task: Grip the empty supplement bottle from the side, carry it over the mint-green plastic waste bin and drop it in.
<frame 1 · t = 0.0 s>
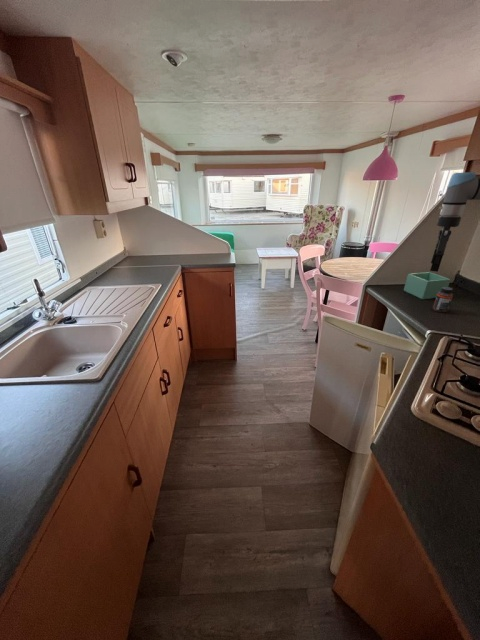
hand: (434, 267, 117), 21 cm above the counter, tool pointing down, fingers open, 13 cm apart
waste bin: (423, 293, 146), on the counter
supplement bottle: (439, 310, 127), on the counter
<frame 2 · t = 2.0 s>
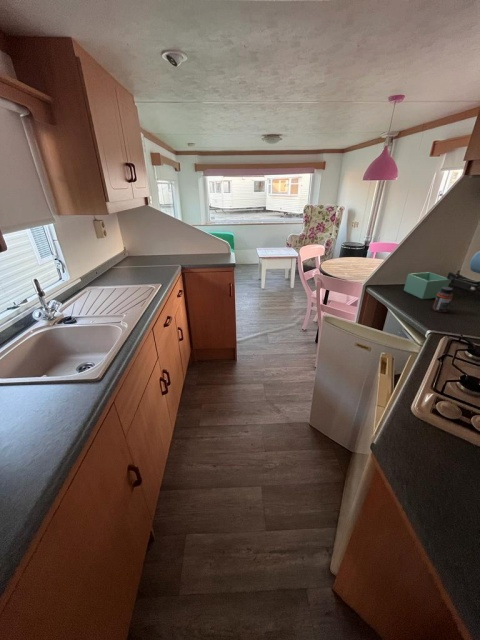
hand: (466, 275, 110), 20 cm above the counter, tool horizontal, fingers open, 13 cm apart
nothing on the counter moved.
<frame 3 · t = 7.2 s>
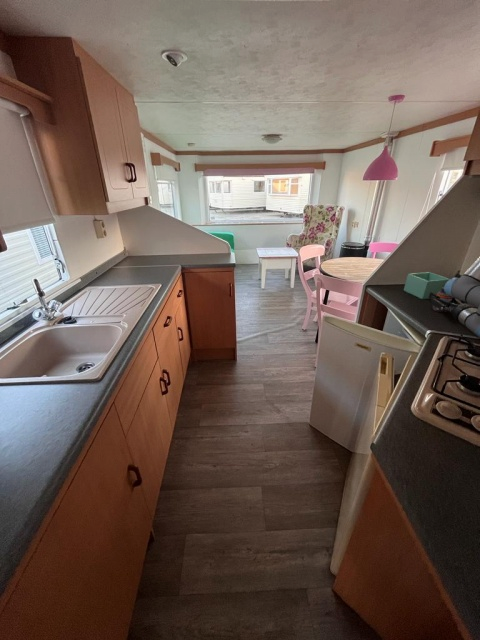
hand: (437, 294, 129), 6 cm above the counter, tool horizontal, fingers closed on supplement bottle, 6 cm apart
supplement bottle: (439, 310, 127), on the counter, touching gripper
when the fingers open (16 cm above the counter, at t = 14.6 s): supplement bottle drops 9 cm, resting on waste bin.
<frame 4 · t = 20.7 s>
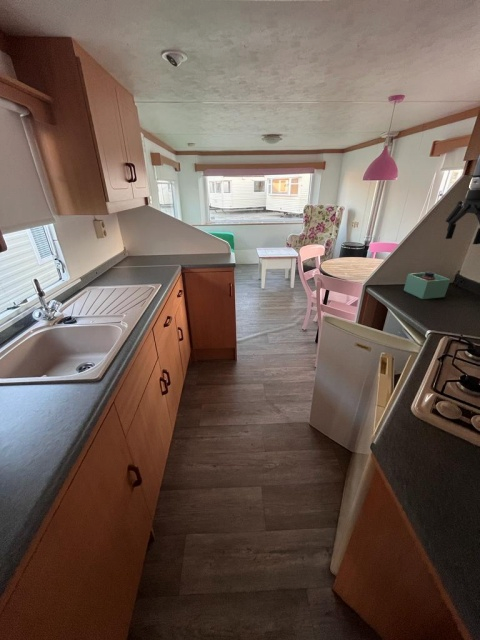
hand: (461, 241, 120), 31 cm above the counter, tool pointing down, fingers open, 13 cm apart
supplement bottle: (423, 292, 146), point 1 cm above the counter, touching waste bin
at the end: supplement bottle inside the target area in the waste bin (0.1 cm from its centre), point 0.6 cm above the waste bin's base; the gripper is holding nothing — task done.
